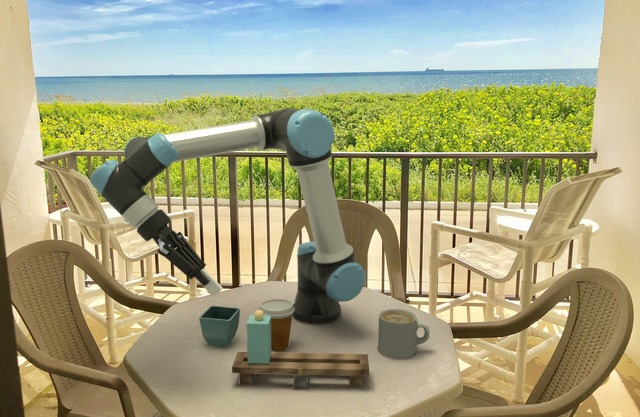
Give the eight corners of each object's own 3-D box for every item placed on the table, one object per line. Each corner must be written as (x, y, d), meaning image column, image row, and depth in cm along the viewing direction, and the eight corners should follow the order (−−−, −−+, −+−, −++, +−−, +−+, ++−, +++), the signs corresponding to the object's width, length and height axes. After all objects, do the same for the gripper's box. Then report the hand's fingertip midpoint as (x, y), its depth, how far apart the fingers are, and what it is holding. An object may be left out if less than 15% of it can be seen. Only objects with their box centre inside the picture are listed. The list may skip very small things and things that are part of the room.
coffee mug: (375, 356, 150) (376, 320, 148) (380, 340, 159) (381, 306, 157) (427, 363, 147) (428, 326, 145) (429, 346, 156) (431, 311, 154)
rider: (247, 368, 135) (246, 315, 132) (251, 358, 140) (249, 307, 137) (269, 369, 135) (268, 315, 132) (271, 359, 140) (270, 307, 137)
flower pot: (230, 351, 152) (229, 320, 150) (199, 348, 154) (198, 317, 152) (241, 337, 161) (240, 307, 159) (212, 335, 162) (210, 305, 160)
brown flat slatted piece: (232, 387, 134) (231, 368, 133) (238, 369, 143) (238, 350, 142) (368, 390, 133) (369, 371, 132) (367, 371, 142) (367, 353, 141)
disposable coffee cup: (299, 341, 158) (299, 300, 156) (286, 356, 150) (286, 313, 147) (268, 336, 161) (267, 296, 159) (253, 351, 153) (252, 308, 150)
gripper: (145, 223, 139) (212, 293, 142) (126, 236, 126) (200, 312, 129) (167, 203, 138) (234, 273, 140) (150, 213, 125) (224, 291, 128)
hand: (218, 292), depth 135 cm, fingers closed
